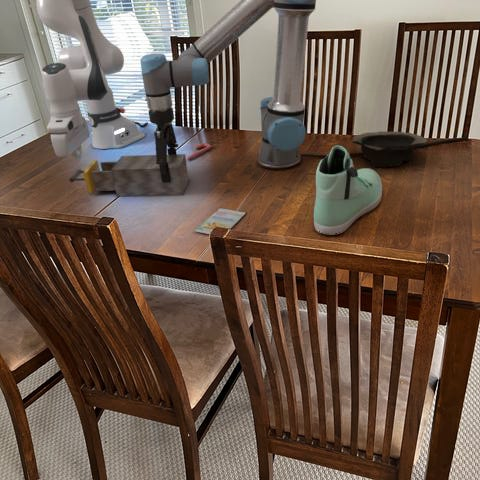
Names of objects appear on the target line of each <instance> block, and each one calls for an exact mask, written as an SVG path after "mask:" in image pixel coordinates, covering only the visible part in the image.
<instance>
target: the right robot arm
mask: <svg viewBox="0 0 480 480" xmlns="http://www.w3.org/2000/svg"><path fill="white" fill-rule="evenodd" d="M316 4H317V0H240V1H238V2H237V4H235V6H233V7H232V8H231V9H230V10H229V11H228V12H226V13H225V15H223V16H222V17H221V18H220V19H219V20H218V21H217V22H215V23H214V24H213V25H212V26H211V27H210V28H209V29H208V30H207V31H206V32H205V33H203V34H202V35H201V36H200V37H199V38H198V39H197V40H196V41H195V42H193V44H191V45H190V46H189V47H188V48H187V49H184V50H183V51H182V52H181V53H179V56H178V58H177V59H175V60H167V57H166V55H165V54H164V53H148V54H144V55H143V56H142V57H141V58H140V60H139V61H140V69H141V70H140V71H141V77H142V82H143V88H144V94H145V98H144V101H145V102H146V106H147V108H148V112H147V113H148V118H149V122H150V123H151V124H153V125H156V128H155V131H154V132H153V135H154V140H155V141H154V143H155V144H154V145H155V155H156V161H157V162H156V164H159V166H160V172H161V178H162V183H166V182H171V178H170V172H169V165H168V162H167V155H173V154H178V153H177V148H179V144H178V141H177V137H176V134H175V129H174V126H173V121H174V120H175V114H174V108H173V98H172V92H171V88H182V87H183V88H184V87H199V86H204V85H208V84H209V81H210V76H209V75H210V74H209V64H210V63H211V62H212V61H214V60H215V59H216V58H217V57H218V56H219V55H220V54H221V53H222V52H224V51H225V50H226V49H227V48H228V47H229V46H230V45H232V44H233V43H234V42H235V41H236V40H237V39H238V38H240V37H241V36H242V35H243V34H244V33H245V32H246V31H248V30H249V29H250V28H251V27H252V26H253V25H254V24H256V23H257V22H259V20H260V19H261V18H263V17H264V16H265V15H266V14H267V13H268V12H269V11H270V10H271V9H274V10H275V12H276V13H277V16H278V17H277V31H276V32H277V33H276V46H275V47H276V48H275V59H274V61H275V63H274V77H273V91H272V92H273V93H272V96H269V97H264V98H263V99H261V100H260V107H259V109H260V123H261V124H260V125H261V145H260V148H259V150H258V156H257V163H258V165H259V166H260V167H261V168H263V169H267V170H272V171H282V170H288V169H293V168H295V167H297V166H299V165H300V164H301V161H302V158H325V157H326V156H327V155H329V154H330V153H329V154H314V153H312V154H311V153H310V154H309V153H300V150H299V147H301V145H302V144H304V141H305V139H306V136H307V135H306V133H307V132H306V127H305V126H306V125H305V124H304V122H305V112H306V111H305V110H306V105H305V104H304V103H303V102H302V92H303V91H302V90H303V80H304V70H305V61H306V51H307V40H308V39H307V38H308V30H309V18H310V15H311V14H312V13H313V12H315V10H316ZM468 139H469V137H468V136H463V137H462V136H461V137H452V138H447V139H446V138H445V139H441V140H436V141H430V142H426V143H424V144H422V145H420V146H417V147H414V149H418V148H423V147H428V146H432V145H439V144H444V143H450V142H457V141H465V140H467V141H468ZM348 153H349V156H350V157H360V156H361V157H362V156H365V155H364V154H363V153H362V152H351V153H350V152H348Z"/></svg>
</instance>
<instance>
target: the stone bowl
mask: <svg viewBox="0 0 480 480" xmlns="http://www.w3.org/2000/svg"><path fill="white" fill-rule="evenodd" d="M351 143H353V144H355V145H358V146H360V149H361V153H363V154H364V155H363V156H364V157H365V158H366V159H367V160H370V161H371V166H373V167H376V168H377V167H380V168H389V167H397V166H400V165H402V162H403V161H404V162H408V161H409V162H410V161H412V160H413V157H414V153H415V148H414V147H417V146H420V145H422V144H425V143H429V140H428V139H427V138H425V137H423V136H421V135H418V134H415V133H412V132H404V131H376V132H375V131H374V132H373V131H372V132H364V133H362V134H356V135H355V136H353V137H352V141H351Z"/></svg>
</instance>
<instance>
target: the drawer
mask: <svg viewBox="0 0 480 480" xmlns="http://www.w3.org/2000/svg"><path fill="white" fill-rule="evenodd" d="M116 163H117V161H101V162H100V163H99V161H98V160H96V159H95V160H93V161H92V162H90V164H89V165H88V167H87V168H86V169H85V170H82V169H80V168H78V169H77V170H76V171H75V172H74V173H73V174H72V175H71V177H69V178H68V181H69V182H70V183H74V182H79V181H81V182H82V181H84V182H85V185H86V189H87V193H88V194H93V192H94V191H95V190H96V191H97V192H104V191H105V192H107V191H109V192H110V191H116V190H115V185H114V181H113V176H112V172H111V169H112V168H113V167H114V165H115V164H116ZM99 165H100V166H99ZM81 174H83V177H79V176H80V175H81Z"/></svg>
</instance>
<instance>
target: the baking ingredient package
mask: <svg viewBox="0 0 480 480" xmlns="http://www.w3.org/2000/svg"><path fill="white" fill-rule="evenodd" d="M245 214H246V212H245V211H239V210H233V209H227V208H220V207H219V208H218V209H217V210H215V211H214V212H213V214H212V215H210V216H209V217H208V218H207V219H206V220H205V221H204V222H203V223H202V224H201V225H200V226H198V227H197V228H196V229H195V230H194V232H197V233H200V234H201V233H202V234H206V235H211V234H210V232H211V230H212V229H213V228H214V227H226V228H230V229H232V228H233V226H235V224H237V223H238V222H239V221H240V219H242V217H244V216H245Z"/></svg>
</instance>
